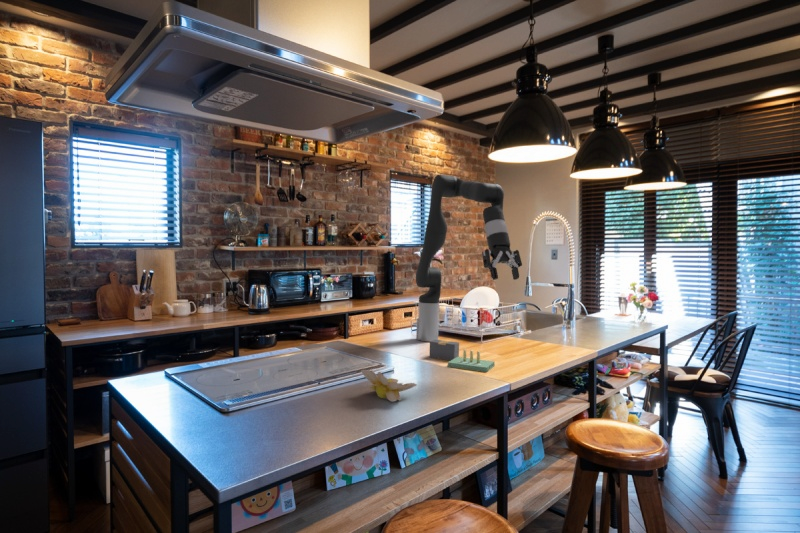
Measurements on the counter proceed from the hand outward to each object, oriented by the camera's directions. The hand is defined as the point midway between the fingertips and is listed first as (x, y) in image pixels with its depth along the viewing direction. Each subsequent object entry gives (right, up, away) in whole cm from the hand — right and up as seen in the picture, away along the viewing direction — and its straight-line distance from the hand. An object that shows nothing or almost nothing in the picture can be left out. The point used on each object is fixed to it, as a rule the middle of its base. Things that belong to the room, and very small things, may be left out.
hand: (506, 279), depth 153 cm
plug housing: (-19, -31, +19) cm, 41 cm away
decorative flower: (-39, -32, -30) cm, 58 cm away
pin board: (-11, -31, +6) cm, 34 cm away
